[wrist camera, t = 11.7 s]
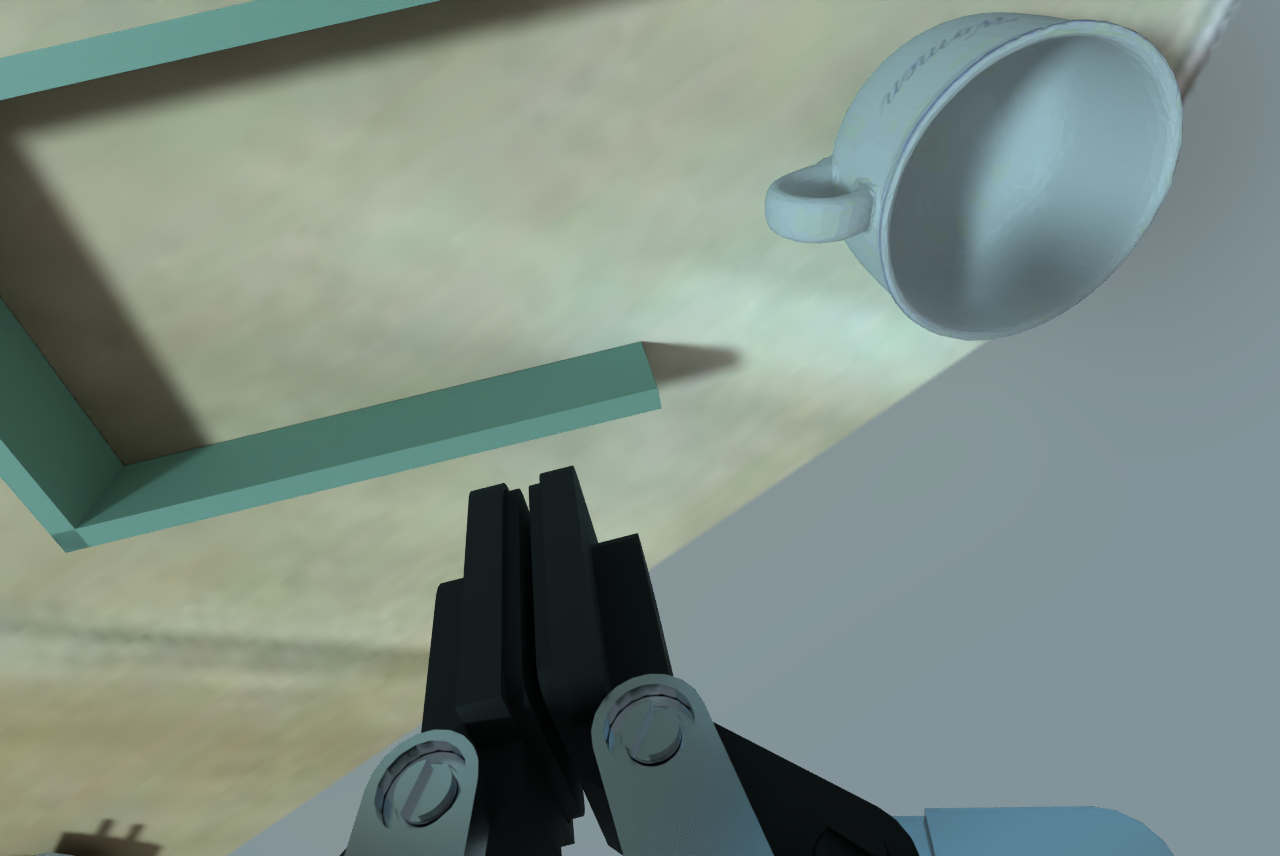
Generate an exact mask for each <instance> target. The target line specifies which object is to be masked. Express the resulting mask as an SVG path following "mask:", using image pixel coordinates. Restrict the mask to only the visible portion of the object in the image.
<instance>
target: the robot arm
mask: <svg viewBox="0 0 1280 856" xmlns="http://www.w3.org/2000/svg"><path fill="white" fill-rule="evenodd" d="M529 508H530V512H529V510H528V507H527V504H526V502H525V499H524V496H523V494H522V492H521V490H520V489H515V490H511V491H509V489H508V487H507V485H506V484H505V483H502V484H498V485H494V486H490V487H486V488H482V489H478V490H474V491H471V492H470V494H469V504H468V518H467V533H466V548H465V563H464V578H461V579H457V580H453V581H449V582H445V583H441V584H440V585H439V587H438V589H437V594H436V601H435V610H434V620H433V629H432V638H431V647H430V657H429V666H428V675H427V684H426V693H425V703H424V712H423V721H422V730H421V733H420V734H417V735H415V736H413V737H411V738H409V739H407V740H406V741H404V742H402V743H401V744H399V745H398V746H397V747H396V748H394V749H393V750H392V751H391V752H390V753H389V754H387V755H386V756H385V757H384V759H383V760H382V761H381V762H380V764H379V765H378V766H377V768H376V769H375V770H374V772H373V773H372V775H371V778H370V780H369V782H368V784H367V786H366V788H365V791H364V794H363V797H362V800H361V804H360V807H359V810H358V813H357V816H356V820H355V823H354V826H353V829H352V833H351V836H350V839H349V842H348V846H347V848H346V849H345V850H344V852H343V853H342V854H341V855H340V856H562V854H561V847H562V846H566V845H570V844H574V843H575V842H574V829H573V819H574V818H578V817H582V816H584V813H585V806H584V795H583V790H584V792H585V794H586V797H587V799H588V801H589V803H590V806H591V808H592V810H593V812H594V815H595V817H596V819H597V821H598V823H599V826H600V828H601V830H602V832H603V835H604V836H605V839H606V841H607V844H608V845H609V846H610V847H612V848H613V849H614V850H616V851H617V852H619V853H620V854H622V855H623V856H1174V855H1173V854H1172V852H1171V851H1170V849H1169V848H1168V846H1167V845H1166V843H1165V842H1164V841H1163V840H1162V839H1161V838H1160V837H1158V836H1157V835H1156V834H1155V833H1154V832H1152V831H1151V830H1150V829H1149V828H1148V827H1146V826H1145V825H1144V824H1143V823H1142V822H1140V821H1138V820H1136V819H1133V818H1131V817H1129V816H1127V815H1125V814H1123V813H1121V812H1119V811H1117V810H1111V809H1105V808H1099V807H1093V806H1078V807H1006V808H1005V807H1002V808H930V809H929V808H925V810H924V816H890V815H889V814H887V813H886V812H884V811H883V810H881V809H880V808H879V807H877V806H875V805H873V804H871V803H869V802H867V801H866V800H863V799H862V798H860V797H858V796H856V795H854V794H852V793H850V792H848V791H846V790H844V789H842V788H840V787H838V786H836V785H834V784H833V783H831V782H828V781H827V780H825V779H823V778H821V777H819V776H817V775H815V774H813V773H811V772H809V771H807V770H805V769H803V768H801V767H799V766H797V765H796V764H794V763H792V762H790V761H788V760H786V759H784V758H782V757H780V756H778V755H776V754H774V753H772V752H770V751H768V750H767V749H765V748H763V747H761V746H759V745H757V744H755V743H753V742H751V741H749V740H747V739H745V738H743V737H741V736H739V735H737V734H735V733H733V732H732V731H730V730H728V729H726V728H724V727H722V726H720V725H718V724H716V723H714V722H713V721H712V719H711V717H710V715H709V712H708V710H707V708H706V706H705V704H704V702H703V700H702V699H701V697H700V696H699V694H698V693H697V692H696V690H695V689H694V688H693V687H692V686H690V685H689V684H687V683H686V682H685V681H683V680H682V679H679V678H676V677H673V672H672V668H671V664H670V660H669V655H668V651H667V647H666V643H665V639H664V634H663V629H662V625H661V621H660V617H659V612H658V608H657V604H656V600H655V596H654V592H653V588H652V584H651V580H650V576H649V572H648V568H647V565H646V561H645V557H644V553H643V550H642V546H641V542H640V539H639V535H638V533H636V534H632V535H628V536H624V537H621V538H617V539H613V540H609V541H605V542H601V543H598V541H597V538H596V534H595V531H594V528H593V525H592V522H591V518H590V515H589V512H588V509H587V506H586V503H585V499H584V496H583V493H582V490H581V487H580V483H579V480H578V477H577V474H576V471H575V469H574V466H569V467H565V468H561V469H557V470H553V471H549V472H545V473H541V474H540V483H538V484H534V485H531V486H529Z"/></svg>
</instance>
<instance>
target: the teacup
mask: <svg viewBox="0 0 1280 856" xmlns="http://www.w3.org/2000/svg"><path fill="white" fill-rule="evenodd" d="M1182 122H1183V106H1182V100H1181V95H1180V91H1179V87H1178V83H1177V81H1176V79H1175V76H1174V72H1173V71H1172V70H1171V69H1170V67H1169V65H1168V63H1167V61H1166V59H1165V58H1164V56H1163V55H1162V54H1161V53H1160V52H1159V50H1158V49H1157V48H1156V47H1155V46H1154V45H1153V44H1151V43H1150V42H1149V41H1148V40H1147V39H1146V38H1144V37H1142V36H1141V35H1139V34H1138V33H1137V32H1135V31H1133V30H1131V29H1128V28H1125V27H1122V26H1120V25H1117V24H1113V23H1110V22H1107V21H1096V20H1085V19H1084V20H1066V19H1060V18H1054V17H1048V16H1041V15H1031V14H1021V13H1003V12H999V13H982V14H975V15H969V16H963V17H960V18H957V19H954V20H950V21H947V22H944V23H941V24H939V25H937V26H935V27H933V28H931V29H929V30H927V31H925V32H923V33H921V34H919V35H917V36H916V37H914V38H912V39H911V40H910V41H908V42H907V43H905V44H904V45H903V46H901V47H900V48H899V49H897V50H896V51H895V52H894V53H893V54H892V55H890V56H889V57H888V58H887V59H886V60H885V61H884V62H883V63H882V64H881V65H880V66H879V67H878V68H877V69H876V70H875V71H874V73H873V74H872V75H871V76H870V77H869V78H868V79H867V81H866V82H865V83H864V85H863V86H862V87H861V89H860V90H859V92H858V93H857V95H856V97H855V98H854V100H853V102H852V103H851V105H850V107H849V109H848V110H847V112H846V115H845V117H844V119H843V122H842V124H841V126H840V129H839V132H838V135H837V138H836V141H835V145H834V149H833V154H832V155H831V156H830V157H827V158H824V159H822V160H821V161H819V162H818V163H817V164H815V165H812V166H808V167H805V168H803V169H800V170H797V171H795V172H792V173H790V174H787V175H785V176H782V177H781V178H779V179H777V180H776V181H774V182H773V183H772V184H771V185H770V187H769V189H768V190H767V193H766V198H765V218H766V221H767V224H768V226H769V228H770V229H771V230H772V231H773V232H774V233H776V234H778V235H779V236H781V237H784V238H787V239H790V240H793V241H796V242H805V243H827V242H834V241H842V240H844V241H845V242H846V244H847V245H848V247H849V248H850V250H851V251H852V253H853V254H854V255H855V257H856V258H857V259H858V261H859V262H860V263H861V265H862V266H863V267H864V268H865V269H866V270H867V271H868V272H869V273H870V274H871V275H872V276H873V277H874V279H875V280H876V281H877V282H878V283H879V284H880V285H881V286H882V287H883V288H884V289H885V290H886V291H887V292H888V293H889V294H890V295H891V296H892V298H893V300H894V301H895V303H896V304H897V305H898V307H899V308H900V309H901V310H902V311H903V312H904V313H905V315H906V316H907V317H908V318H910V319H911V320H912V321H914V322H915V323H916V324H918V325H920V326H921V327H923V328H925V329H927V330H929V331H931V332H933V333H936V334H938V335H941V336H947V337H951V338H956V339H962V340H989V339H996V338H1002V337H1008V336H1011V335H1014V334H1018V333H1021V332H1023V331H1026V330H1029V329H1032V328H1034V327H1036V326H1039V325H1041V324H1043V323H1045V322H1047V321H1049V320H1051V319H1053V318H1055V317H1056V316H1059V315H1060V314H1062V313H1064V312H1065V311H1067V310H1068V309H1070V308H1071V307H1073V306H1074V305H1076V304H1077V303H1079V302H1080V301H1082V300H1083V299H1084V298H1085V297H1087V296H1088V295H1089V294H1090V293H1092V292H1093V291H1094V290H1095V289H1096V288H1098V286H1100V285H1101V284H1102V283H1103V282H1104V281H1105V280H1106V279H1107V278H1108V277H1109V276H1110V275H1111V274H1112V273H1113V272H1114V271H1115V270H1116V269H1117V268H1118V267H1119V266H1120V264H1121V263H1122V262H1123V261H1124V260H1125V259H1126V258H1127V256H1128V255H1129V254H1130V253H1131V252H1132V250H1133V249H1134V247H1135V246H1136V244H1137V243H1138V242H1139V240H1140V239H1141V237H1142V236H1143V234H1144V233H1145V231H1146V230H1147V229H1148V227H1149V226H1150V224H1151V223H1152V221H1153V219H1154V217H1155V215H1156V213H1157V211H1158V209H1159V207H1160V206H1161V204H1162V202H1163V201H1164V199H1165V197H1166V195H1167V193H1168V191H1169V189H1170V187H1171V185H1172V177H1173V174H1174V171H1175V168H1176V165H1177V161H1178V156H1179V152H1180V147H1181V143H1182Z"/></svg>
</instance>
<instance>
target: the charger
mask: <svg viewBox="0 0 1280 856" xmlns="http://www.w3.org/2000/svg"><path fill="white" fill-rule="evenodd" d="M34 856H73V855H66V854H59V853H52V852H47V853H43V854H39V855H34Z"/></svg>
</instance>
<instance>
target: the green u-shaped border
mask: <svg viewBox="0 0 1280 856" xmlns="http://www.w3.org/2000/svg"><path fill="white" fill-rule="evenodd" d="M435 1H439V0H256V1H252V2H247V3H243V4H239V5H234V6H230V7H225V8H221V9H216V10H212V11H208V12H203V13H199V14H194V15H190V16H185V17H181V18H177V19H172V20H168V21H163V22H159V23H154V24H150V25H145V26H141V27H137V28H132V29H128V30H123V31H119V32H114V33H110V34H106V35H101V36H97V37H92V38H88V39H83V40H79V41H75V42H70V43H66V44H61V45H57V46H52V47H48V48H44V49H39V50H35V51H30V52H26V53H21V54H17V55H12V56H8V57H4V58H0V100H3V99H8V98H12V97H16V96H21V95H25V94H30V93H34V92H38V91H43V90H47V89H52V88H56V87H60V86H65V85H69V84H74V83H78V82H82V81H87V80H91V79H96V78H100V77H104V76H109V75H113V74H118V73H122V72H126V71H131V70H135V69H140V68H144V67H148V66H153V65H157V64H162V63H166V62H171V61H175V60H179V59H184V58H188V57H193V56H197V55H201V54H206V53H210V52H215V51H219V50H223V49H228V48H232V47H237V46H241V45H245V44H250V43H254V42H259V41H263V40H267V39H272V38H276V37H281V36H285V35H289V34H294V33H298V32H303V31H307V30H311V29H316V28H320V27H325V26H329V25H334V24H338V23H342V22H347V21H351V20H356V19H360V18H364V17H369V16H373V15H378V14H382V13H386V12H391V11H395V10H400V9H404V8H408V7H413V6H417V5H422V4H426V3H430V2H435ZM656 409H661V403H660V398H659V393H658V388H657V385H656V382H655V380H654V377H653V374H652V371H651V368H650V365H649V362H648V360H647V357H646V354H645V351H644V348H643V345H642V342H638V343H634V344H630V345H625V346H621V347H617V348H613V349H609V350H605V351H600V352H596V353H592V354H588V355H584V356H580V357H575V358H571V359H567V360H563V361H559V362H555V363H550V364H546V365H542V366H538V367H534V368H530V369H525V370H521V371H517V372H513V373H509V374H505V375H500V376H496V377H492V378H488V379H484V380H480V381H475V382H471V383H467V384H463V385H459V386H455V387H450V388H446V389H442V390H438V391H434V392H430V393H425V394H421V395H417V396H413V397H409V398H405V399H400V400H396V401H392V402H388V403H384V404H380V405H375V406H371V407H367V408H363V409H359V410H355V411H350V412H346V413H342V414H338V415H334V416H330V417H325V418H321V419H317V420H313V421H309V422H305V423H300V424H296V425H292V426H288V427H284V428H280V429H275V430H271V431H267V432H263V433H259V434H255V435H250V436H246V437H242V438H238V439H234V440H230V441H225V442H221V443H217V444H213V445H209V446H205V447H200V448H196V449H192V450H188V451H184V452H180V453H176V454H171V455H167V456H163V457H159V458H155V459H151V460H146V461H142V462H138V463H134V464H130V465H126V466H123V464H122V463H121V462H120V460H119V459H118V458H117V456H116V455H115V453H114V452H113V451H112V449H111V448H110V447H109V445H108V444H107V443H106V441H105V440H104V438H103V437H102V436H101V434H100V433H99V432H98V430H97V429H96V427H95V426H94V425H93V423H92V422H91V421H90V419H89V418H88V417H87V415H86V414H85V412H84V411H83V410H82V408H81V407H80V406H79V404H78V403H77V402H76V400H75V399H74V397H73V396H72V395H71V393H70V392H69V391H68V389H67V388H66V386H65V385H64V384H63V382H62V381H61V380H60V378H59V377H58V376H57V374H56V373H55V371H54V370H53V369H52V367H51V366H50V365H49V363H48V362H47V361H46V359H45V358H44V356H43V355H42V354H41V352H40V351H39V350H38V348H37V347H36V345H35V344H34V343H33V341H32V340H31V339H30V337H29V336H28V335H27V333H26V332H25V330H24V329H23V328H22V326H21V325H20V324H19V322H18V321H17V319H16V318H15V317H14V315H13V314H12V313H11V311H10V310H9V309H8V307H7V306H6V304H5V303H4V302H3V300H2V299H1V298H0V477H1V478H2V479H3V480H4V481H5V483H6V484H7V485H8V486H9V487H10V488H11V490H12V491H13V492H14V493H15V494H16V495H17V497H18V498H19V499H20V500H21V501H22V502H23V504H24V505H25V506H26V507H27V508H28V509H29V511H30V512H31V513H32V514H33V515H34V516H35V518H36V519H37V520H38V521H39V522H40V523H41V524H42V526H43V527H44V528H45V529H46V530H47V531H48V533H49V534H50V535H51V536H52V537H53V538H54V540H55V541H56V542H57V543H58V544H59V545H60V547H61V548H62V549H63V550H64V551H65V552H66V553H67V552H71V551H75V550H79V549H83V548H87V547H91V546H96V545H100V544H104V543H108V542H112V541H116V540H120V539H124V538H129V537H133V536H137V535H141V534H145V533H149V532H153V531H157V530H162V529H166V528H170V527H174V526H178V525H182V524H186V523H190V522H195V521H199V520H203V519H207V518H211V517H215V516H219V515H223V514H228V513H232V512H236V511H240V510H244V509H248V508H252V507H256V506H261V505H265V504H269V503H273V502H277V501H281V500H285V499H289V498H294V497H298V496H302V495H306V494H310V493H314V492H318V491H322V490H326V489H331V488H335V487H339V486H343V485H347V484H351V483H355V482H359V481H364V480H368V479H372V478H376V477H380V476H384V475H388V474H392V473H397V472H401V471H405V470H409V469H413V468H417V467H421V466H425V465H430V464H434V463H438V462H442V461H446V460H450V459H454V458H458V457H463V456H467V455H471V454H475V453H479V452H483V451H487V450H491V449H496V448H500V447H504V446H508V445H512V444H516V443H520V442H524V441H529V440H533V439H537V438H541V437H545V436H549V435H553V434H557V433H562V432H566V431H570V430H574V429H578V428H582V427H586V426H590V425H595V424H599V423H603V422H607V421H611V420H615V419H619V418H623V417H628V416H632V415H636V414H640V413H644V412H648V411H652V410H656Z"/></svg>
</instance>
